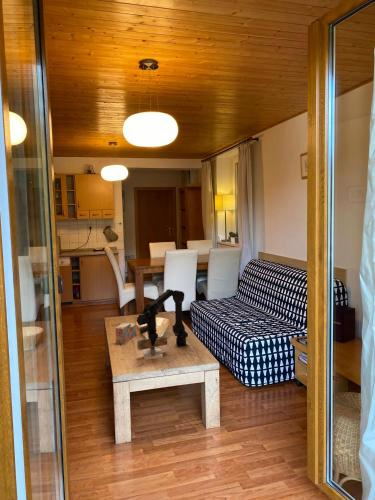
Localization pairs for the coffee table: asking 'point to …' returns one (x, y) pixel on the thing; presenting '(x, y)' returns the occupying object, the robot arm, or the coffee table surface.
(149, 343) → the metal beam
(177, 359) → the coffee table surface
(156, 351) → the fulcrum
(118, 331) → the stack of blocks
